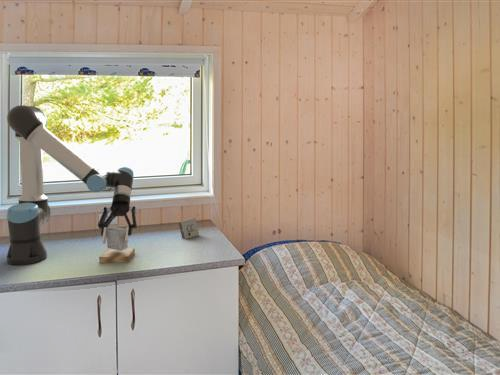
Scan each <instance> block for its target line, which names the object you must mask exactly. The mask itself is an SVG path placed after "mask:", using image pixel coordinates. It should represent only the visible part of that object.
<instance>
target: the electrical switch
mask: <svg viewBox="0 0 500 375" xmlns="http://www.w3.org/2000/svg"><path fill="white" fill-rule="evenodd" d="M178 226H179V229H180V235H181V239H185V240H188V239H190V238H195V237H198V236H199V235H200V233H199V229H198V223H197V219H196V217H193V218H188V219H185V220H184V219H183V220H181V221H180V222H178Z"/></svg>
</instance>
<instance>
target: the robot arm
mask: <svg viewBox="0 0 500 375" xmlns="http://www.w3.org/2000/svg"><path fill="white" fill-rule="evenodd" d="M6 119H7V120H6V121H7V124H8V126H9V128H10V129H11V130H12V131H14V136H15V138H16V139H17V140H18V142H19V154H20V155H19V156H20V159H19V160H20V174H21V175H20V178H21V195H20V197H18V203H17V204H13V205H11V206H10V207H8V209H7V212H6V213H7V214H6V219H7V226H8V228H7V229H8V237H9V246H8V250H7V253H6V263H7V264H8V265H12V266H24V265H25V266H26V265H31V264H36V263H38V262H42V261H44V260H46V259H47V258H48V252H47V249H46V247H45V245H44V243H43V241H42V234H41V232H42V231H41V227H42V226H44V225H45V224H46V223H47V222H48V220H49V219H50V217H51V214H52V213H51V211H52V210H51V207H50V205H49V204H48V203H49V201H48V196H46V195H45V194H44V190H45V189H44V173H43V172H44V170H43V169H44V168H43V152H45V153H46V154H47V155H48V156H50V157H51V158H52V159H54V160H55V161H56V162H57V163H58V164H60V165H62V167H64V168H65V169H66V170H67V171H68V172H70V173H71V174H72V175H74V176H75V177H76V178H78V179H79V180H80V181H81V182H82V183H83V184H85V185H86V187H87V189H88V190H89V191H90V192H93V193H101V192H102V191H103V190H104V191H105V189H106V188H113V189H114V190H113V195H112V196H113V197H112V201H111V206H110V207H106V206H104V207H103V211H102V214H101V217H100V219H99V221H98V224H97V226H98V228H99V229H100V231H101V232H100V235H101V237H102V239H101V242H102V244H103V245H106V244H107V232H106V229H108V228H109V226H110V225H111V223H112V221H113V220H114V219H115V218H116V217H124V219H125V221H126V223H127V226H126V228H125V229H126V236H125V242H126V243H127V244H128V243H129V238H130V236H132V234H133V229H137V228H138V224H137V217H136V216H137V215H136V212H137V208H136V206H132V207H131V206H130V205H131V204H130V203H131V198H132V189H133V182H134V171H133V169H131V168H130V167H127V166H122V167H119V168H118V169H117V171H111V170H103V169H101V170H100V169H96V168H95V167H94V166H93V165H91V164H90V163H89V162H87V161H86V160H85V159H84V158H82V156H80V155H79V154H78V153H77V152H75V151H74V150H73V149H72V148H70V146H68V145H67V144H66V143H64V142H63V141H62V140H60V138H58V137H57V136H56V135H55V134H53V133H52V132H51V131H50V130H48V129H47V128H46V127H47V125H48V118H47V115H46V114H45V112H44V111H43V110H42V109H40V108H38V107H37V106H32V105H25V104H23V105H22V104H20V105H19V104H18V105H16V106H13V107H12V108H11V109H10V110H9V111H8V113H7V116H6ZM129 211H130V212H131V218H132V219H131V220H132V224H131V221H130V219H129V216H128V212H129ZM109 213H110V215H109Z"/></svg>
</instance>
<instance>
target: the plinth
mask: <svg viewBox="0 0 500 375" xmlns="http://www.w3.org/2000/svg"><path fill="white" fill-rule="evenodd" d="M135 250H136V249H135V247H128V248H127V249H124V250H121V251H119V250H115V249H110V248H108V247H107V248H106V249H105V250H104V251H103V252H102V253H101V254H100V256H98V258H99V259H98V260H99V264H106V263H111V264H112V263H129V262H130V261H131V259H132V258H133V256H134V255H135V254H136V251H135Z"/></svg>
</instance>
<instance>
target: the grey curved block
mask: <svg viewBox="0 0 500 375" xmlns="http://www.w3.org/2000/svg"><path fill="white" fill-rule="evenodd" d="M106 232H107V237H106V244H107V245H106V246H107V248H110V249H115V250H119V251H121V250H124V249H127V248H129V247H128V243H126V242H125V236H126V228H124V227H123V228H122V227H118V226H112V227H107V229H106Z"/></svg>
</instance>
